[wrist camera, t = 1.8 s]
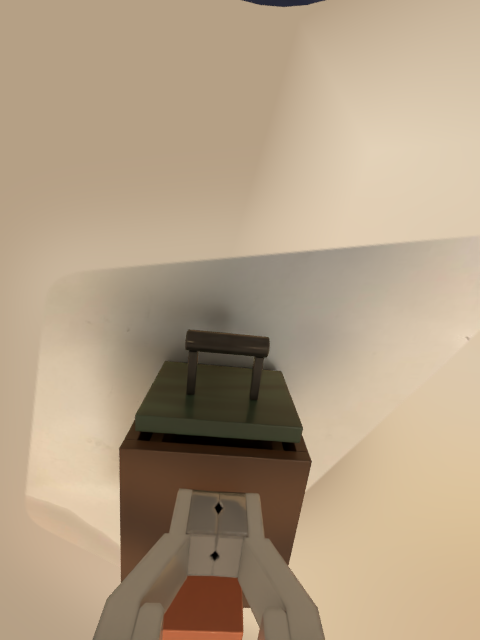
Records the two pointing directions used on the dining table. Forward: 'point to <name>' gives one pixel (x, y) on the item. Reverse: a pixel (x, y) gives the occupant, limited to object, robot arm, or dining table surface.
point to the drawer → (220, 398)
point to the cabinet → (205, 488)
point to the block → (205, 610)
